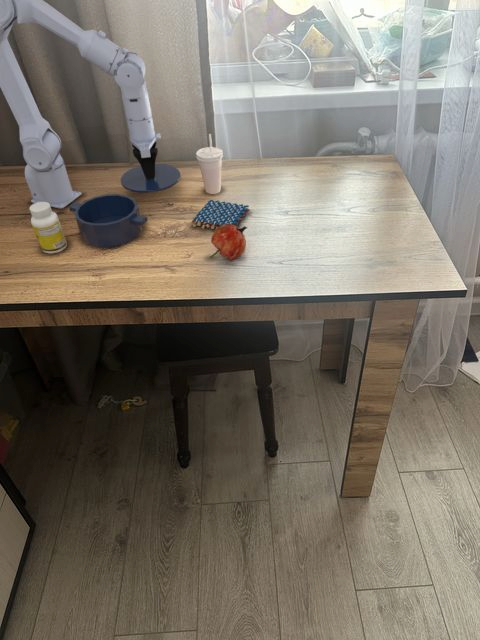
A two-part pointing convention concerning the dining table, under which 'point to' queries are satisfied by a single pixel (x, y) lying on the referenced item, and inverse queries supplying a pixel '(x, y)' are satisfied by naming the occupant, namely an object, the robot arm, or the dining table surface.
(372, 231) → the dining table surface
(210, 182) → the smoothie
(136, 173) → the pan lid
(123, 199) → the pan
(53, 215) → the supplement bottle
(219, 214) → the woven mat
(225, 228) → the pomegranate
